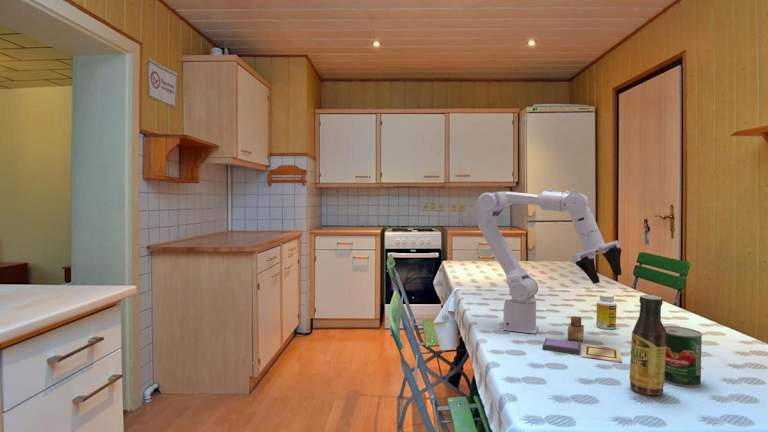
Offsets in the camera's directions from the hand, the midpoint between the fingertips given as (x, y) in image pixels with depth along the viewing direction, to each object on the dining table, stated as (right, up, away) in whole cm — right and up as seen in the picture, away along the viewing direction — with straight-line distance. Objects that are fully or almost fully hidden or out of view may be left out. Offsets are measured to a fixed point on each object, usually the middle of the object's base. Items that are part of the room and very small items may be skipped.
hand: (607, 279), depth 126 cm
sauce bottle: (-8, -19, -32) cm, 38 cm away
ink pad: (-14, -18, -5) cm, 23 cm away
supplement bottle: (+8, -18, +16) cm, 25 cm away
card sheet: (-6, -18, -9) cm, 21 cm away
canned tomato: (+3, -19, -26) cm, 32 cm away
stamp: (-7, -18, +3) cm, 20 cm away
